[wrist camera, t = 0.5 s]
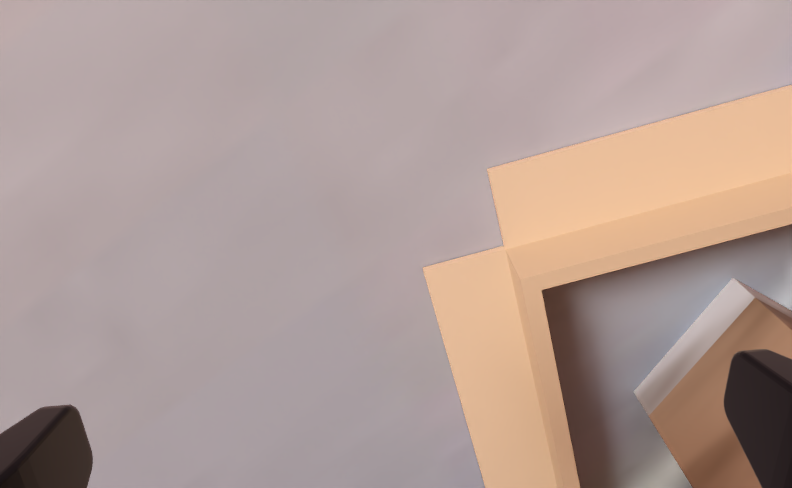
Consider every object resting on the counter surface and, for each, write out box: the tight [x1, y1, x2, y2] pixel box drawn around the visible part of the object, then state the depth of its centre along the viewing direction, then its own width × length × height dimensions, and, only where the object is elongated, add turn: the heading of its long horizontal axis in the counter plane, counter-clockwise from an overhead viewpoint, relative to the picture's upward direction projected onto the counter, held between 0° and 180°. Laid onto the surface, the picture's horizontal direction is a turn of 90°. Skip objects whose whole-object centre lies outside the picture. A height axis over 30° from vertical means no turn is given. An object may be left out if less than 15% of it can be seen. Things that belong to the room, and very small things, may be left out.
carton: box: [423, 85, 792, 488], centre depth 24 cm, size 18×21×2 cm
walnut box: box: [634, 278, 792, 488], centre depth 22 cm, size 4×6×8 cm
